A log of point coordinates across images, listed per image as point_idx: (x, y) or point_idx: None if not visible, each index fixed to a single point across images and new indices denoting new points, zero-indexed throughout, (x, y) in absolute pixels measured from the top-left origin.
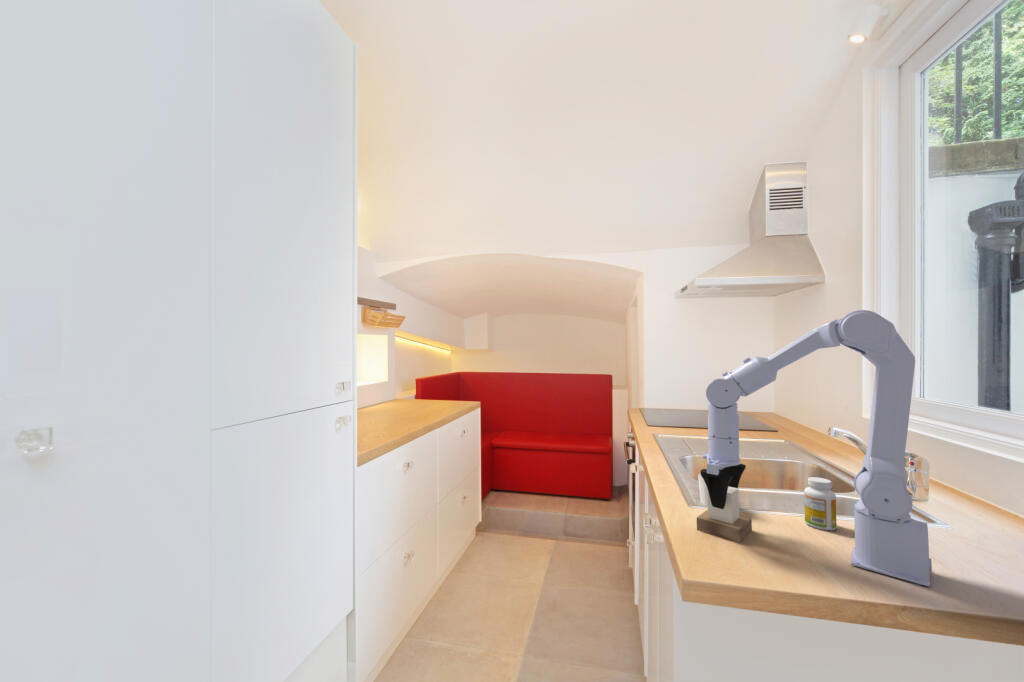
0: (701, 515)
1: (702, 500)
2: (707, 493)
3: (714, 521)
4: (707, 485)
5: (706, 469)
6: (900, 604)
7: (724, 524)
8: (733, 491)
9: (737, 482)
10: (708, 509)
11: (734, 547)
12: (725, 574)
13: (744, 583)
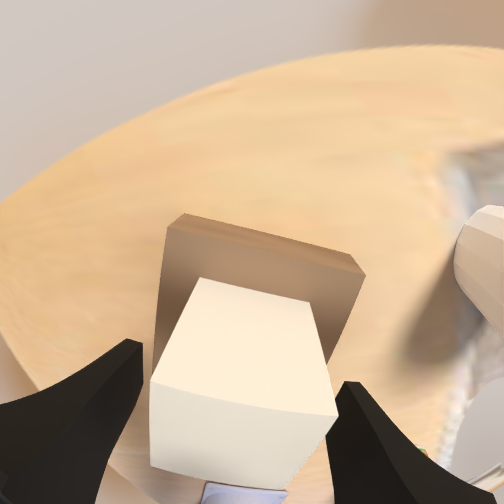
0: (211, 244)
1: (487, 217)
2: (495, 254)
3: (168, 304)
4: (30, 400)
5: (8, 501)
6: (125, 478)
7: (162, 338)
8: (198, 477)
9: (336, 500)
10: (191, 298)
11: (124, 334)
12: (2, 304)
13: (5, 332)
